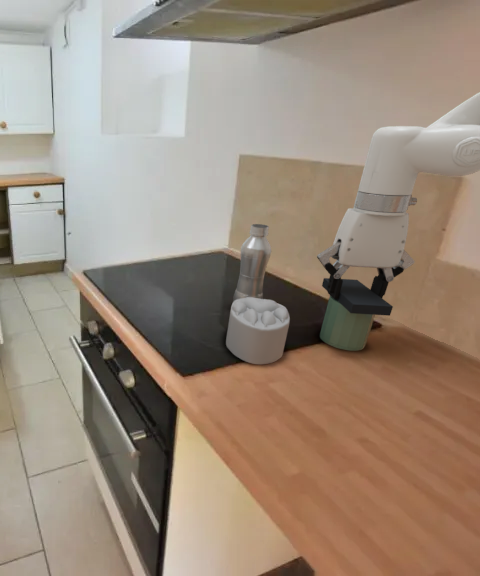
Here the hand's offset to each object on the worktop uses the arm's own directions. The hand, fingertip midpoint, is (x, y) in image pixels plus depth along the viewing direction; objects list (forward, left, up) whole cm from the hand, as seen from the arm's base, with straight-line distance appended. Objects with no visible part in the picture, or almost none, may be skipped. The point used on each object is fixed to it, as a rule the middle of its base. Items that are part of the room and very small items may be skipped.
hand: (353, 296), depth 72 cm
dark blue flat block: (0, 0, -1) cm, 1 cm away
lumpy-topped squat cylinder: (+18, +5, -10) cm, 21 cm away
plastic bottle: (+16, -12, -10) cm, 22 cm away
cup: (0, 0, -10) cm, 10 cm away
